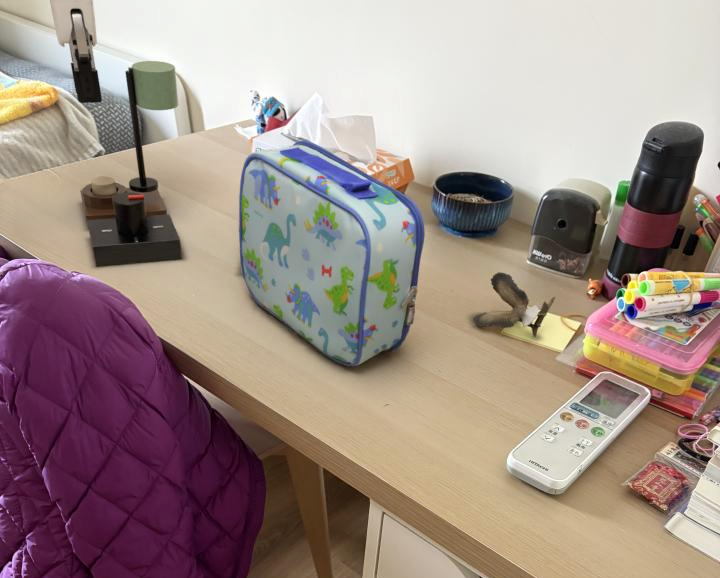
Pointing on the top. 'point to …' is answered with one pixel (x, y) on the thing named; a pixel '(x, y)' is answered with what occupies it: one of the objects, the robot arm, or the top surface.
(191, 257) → the top surface
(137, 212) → the dimmer knob
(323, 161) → the lunch box
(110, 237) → the dimmer plate
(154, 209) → the lamp base
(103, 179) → the lamp button
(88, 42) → the robot arm
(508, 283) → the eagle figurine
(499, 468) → the top surface
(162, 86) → the desk lamp
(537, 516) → the top surface
